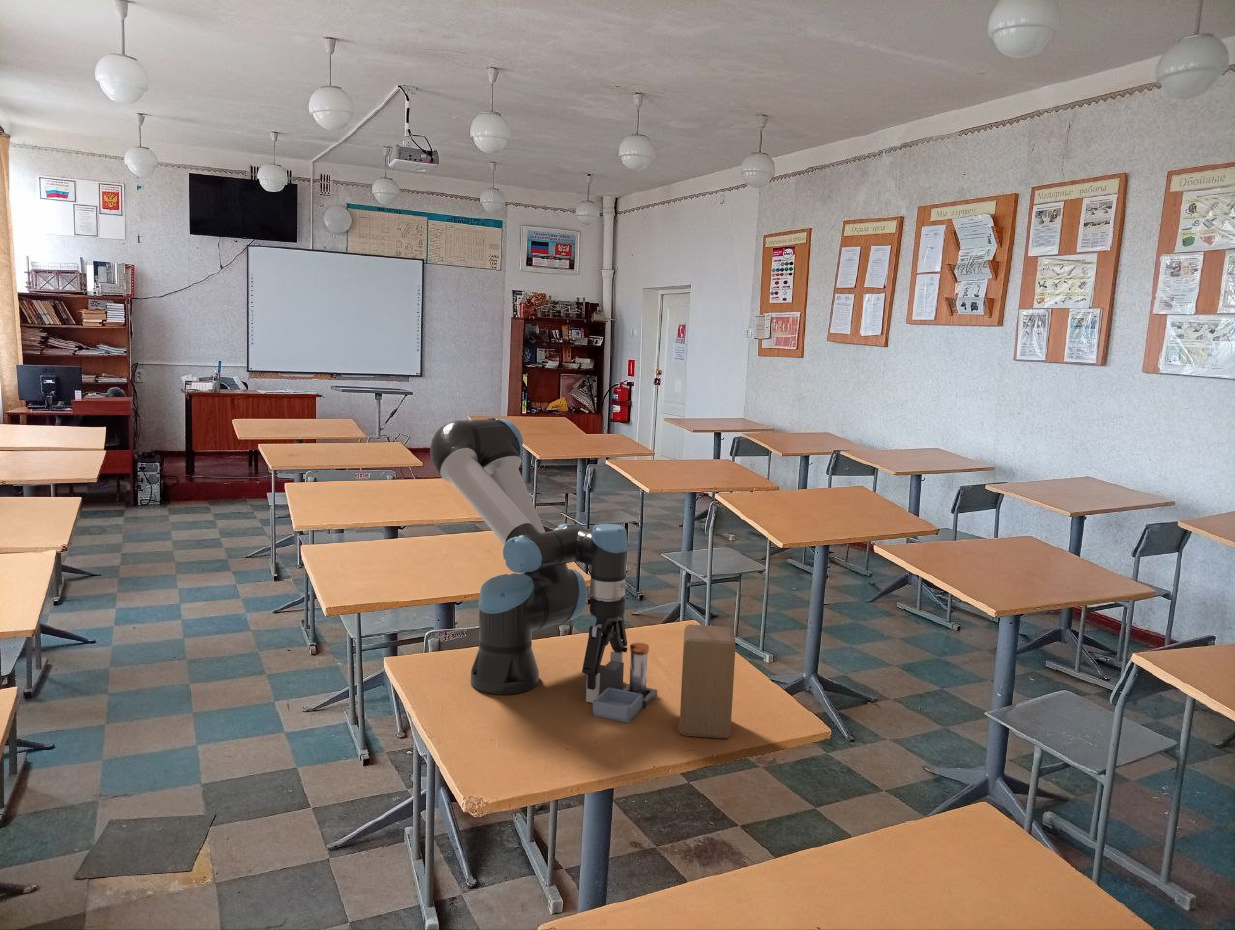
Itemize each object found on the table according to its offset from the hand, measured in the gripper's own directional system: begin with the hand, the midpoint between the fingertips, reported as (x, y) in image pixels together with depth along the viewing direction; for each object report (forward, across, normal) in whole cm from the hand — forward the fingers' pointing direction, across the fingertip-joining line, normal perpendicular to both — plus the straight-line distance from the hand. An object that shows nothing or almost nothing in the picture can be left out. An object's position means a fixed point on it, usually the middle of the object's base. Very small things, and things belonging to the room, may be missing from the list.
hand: (604, 690), depth 190 cm
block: (0, -7, -25) cm, 26 cm away
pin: (0, 0, -8) cm, 8 cm away
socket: (0, 0, -8) cm, 8 cm away
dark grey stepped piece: (0, 0, 0) cm, 0 cm away
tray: (0, -8, -6) cm, 10 cm away
